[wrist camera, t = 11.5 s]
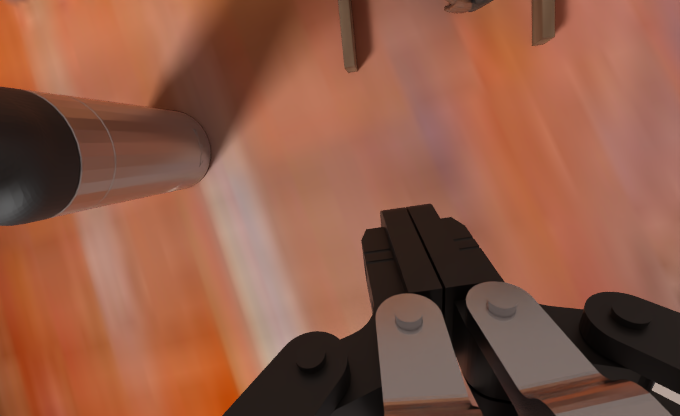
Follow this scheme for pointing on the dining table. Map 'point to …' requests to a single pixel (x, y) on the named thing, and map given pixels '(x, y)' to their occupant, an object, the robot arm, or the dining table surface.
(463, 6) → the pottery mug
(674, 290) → the dining table surface
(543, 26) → the wooden corral
